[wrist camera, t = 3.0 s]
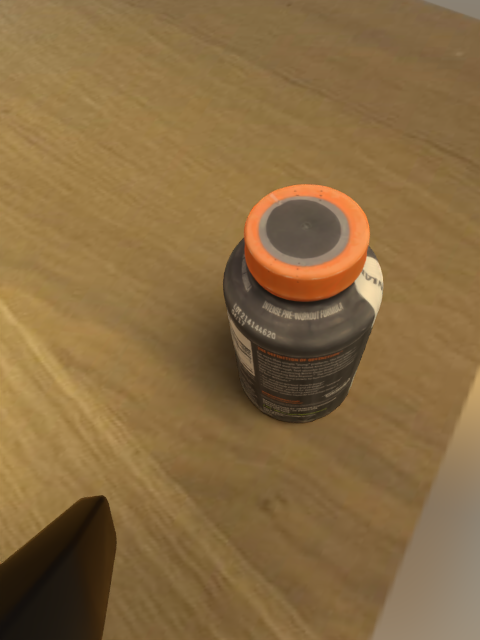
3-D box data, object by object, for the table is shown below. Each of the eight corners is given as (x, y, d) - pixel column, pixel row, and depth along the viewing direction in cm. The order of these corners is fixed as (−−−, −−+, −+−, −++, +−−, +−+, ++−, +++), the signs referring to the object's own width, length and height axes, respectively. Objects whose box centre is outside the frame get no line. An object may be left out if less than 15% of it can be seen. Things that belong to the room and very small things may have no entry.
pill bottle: (369, 350, 24) (433, 194, 14) (322, 447, 22) (359, 339, 12) (271, 305, 26) (268, 140, 16) (217, 391, 24) (176, 257, 14)
